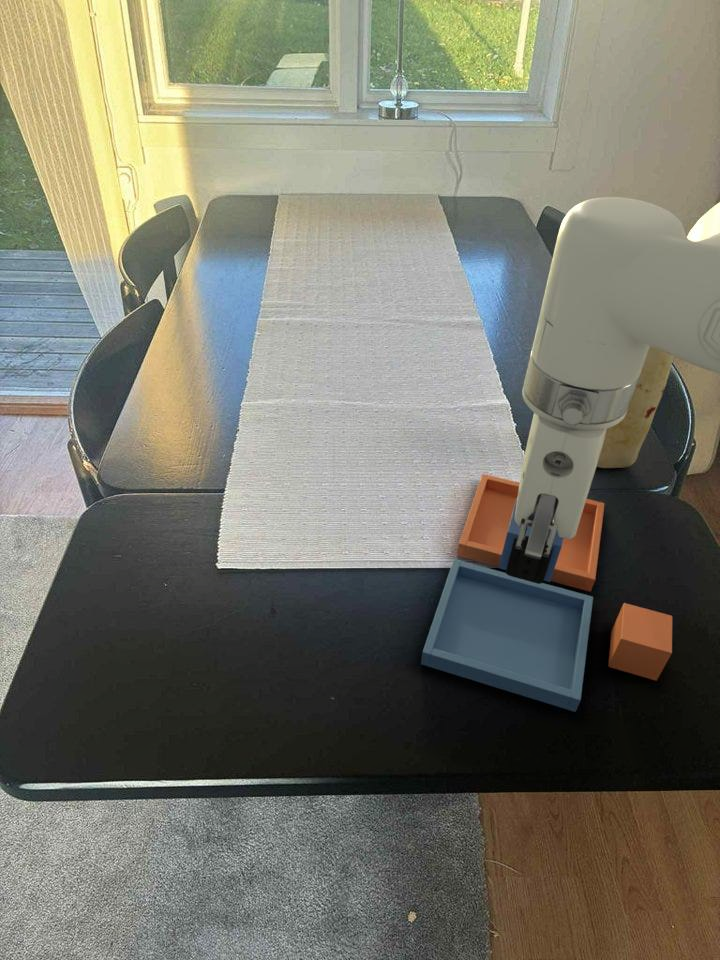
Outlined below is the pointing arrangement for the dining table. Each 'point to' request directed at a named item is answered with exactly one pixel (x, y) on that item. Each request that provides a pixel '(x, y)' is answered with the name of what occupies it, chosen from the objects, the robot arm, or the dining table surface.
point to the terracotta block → (641, 641)
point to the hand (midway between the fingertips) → (529, 554)
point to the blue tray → (511, 634)
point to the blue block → (514, 532)
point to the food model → (637, 413)
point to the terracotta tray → (492, 525)
